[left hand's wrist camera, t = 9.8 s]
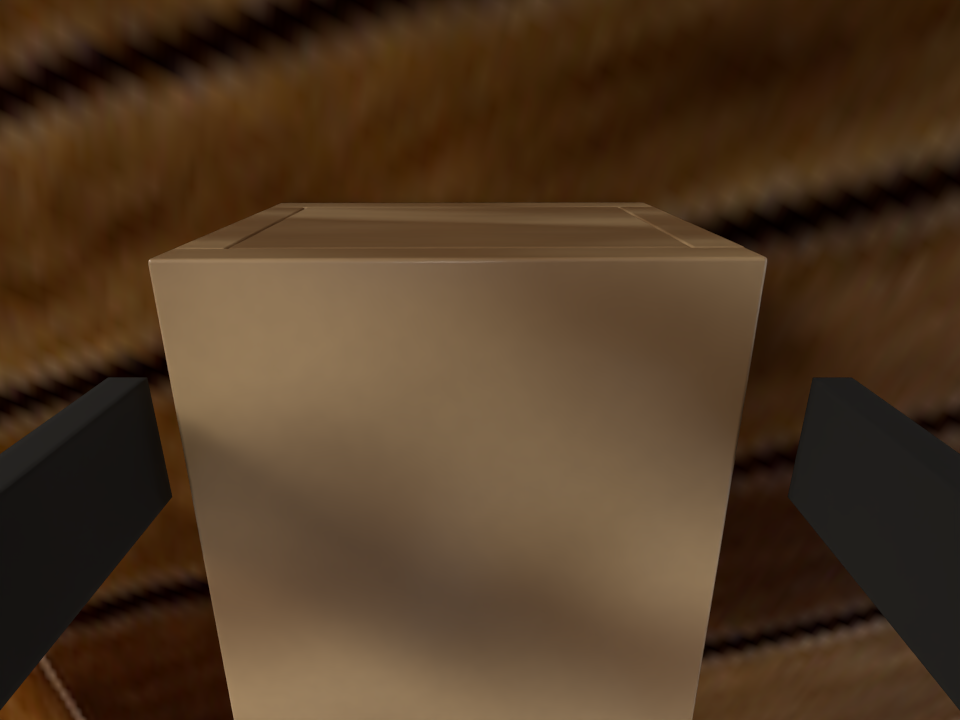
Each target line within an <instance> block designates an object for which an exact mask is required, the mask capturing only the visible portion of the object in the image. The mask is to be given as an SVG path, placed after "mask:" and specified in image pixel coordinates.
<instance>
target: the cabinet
mask: <svg viewBox="0 0 960 720" xmlns="http://www.w3.org/2000/svg"><path fill="white" fill-rule="evenodd" d="M148 265H149V270H150V275H151V281H152V286H153V291H154V296H155V302H156V307H157V312H158V318H159V323H160V328H161V334H162V339H163V344H164V350H165V355H166V360H167V366H168V371H169V376H170V382H171V387H172V392H173V398H174V403H175V408H176V414H177V419H178V424H179V429H180V435H181V440H182V445H183V451H184V456H185V461H186V467H187V472H188V477H189V483H190V488H191V493H192V499H193V504H194V509H195V515H196V520H197V525H198V531H199V536H200V541H201V546H202V552H203V557H204V562H205V568H206V573H207V578H208V584H209V589H210V594H211V600H212V605H213V610H214V616H215V621H216V626H217V632H218V637H219V642H220V648H221V653H222V658H223V663H224V669H225V674H226V679H227V685H228V690H229V695H230V701H231V706H232V711H233V717H234V720H692V718H693V712H694V706H695V700H696V694H697V688H698V681H699V675H700V669H701V663H702V657H703V651H704V645H705V639H706V632H707V626H708V620H709V614H710V608H711V602H712V596H713V590H714V584H715V577H716V571H717V565H718V559H719V553H720V547H721V541H722V535H723V529H724V522H725V516H726V510H727V504H728V498H729V492H730V486H731V480H732V473H733V467H734V461H735V455H736V449H737V443H738V437H739V431H740V425H741V418H742V412H743V406H744V400H745V394H746V388H747V382H748V376H749V370H750V363H751V357H752V351H753V345H754V339H755V333H756V327H757V321H758V315H759V308H760V302H761V296H762V290H763V284H764V278H765V272H766V266H767V258H766V257H764V256H762V255H759V254H757V253H755V252H753V251H751V250H748V249H746V248H744V247H743V246H741V245H739V244H736V243H734V242H732V241H730V240H727V239H725V238H723V237H721V236H718V235H716V234H714V233H712V232H709V231H707V230H705V229H702V228H700V227H698V226H696V225H693V224H691V223H689V222H687V221H684V220H682V219H680V218H678V217H675V216H673V215H671V214H669V213H666V212H664V211H662V210H660V209H657V208H655V207H652V206H650V205H648V204H645V203H281V204H278V205H276V206H274V207H271V208H269V209H267V210H264V211H262V212H260V213H257V214H255V215H253V216H250V217H248V218H246V219H243V220H241V221H239V222H236V223H234V224H231V225H229V226H227V227H224V228H222V229H220V230H217V231H215V232H213V233H210V234H208V235H206V236H203V237H201V238H199V239H196V240H194V241H191V242H189V243H187V244H184V245H182V246H180V247H177V248H175V249H173V250H170V251H168V252H166V253H163V254H161V255H159V256H156V257H154V258H152V259H149V262H148Z"/></svg>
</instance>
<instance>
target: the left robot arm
mask: <svg viewBox="0 0 960 720" xmlns="http://www.w3.org/2000/svg"><path fill="white" fill-rule="evenodd" d="M171 498H172V493H171V489H170V484H169V479H168V474H167V470H166V465H165V460H164V456H163V451H162V446H161V441H160V437H159V432H158V427H157V422H156V418H155V413H154V408H153V403H152V399H151V394H150V389H149V384H148V380H147V378H107V379H106V380H104V381H103V382H101V383H100V384H99V385H97V386H96V387H94V388H93V389H91V390H90V391H89V392H87V393H86V394H84V395H83V396H82V397H80V398H79V399H77V400H76V401H74V402H73V403H72V404H70V405H69V406H67V407H66V408H65V409H63V410H62V411H60V412H59V413H58V414H56V415H55V416H53V417H52V418H50V419H49V420H48V421H46V422H45V423H43V424H42V425H41V426H39V427H38V428H36V429H35V430H34V431H32V432H31V433H29V434H28V435H26V436H25V437H24V438H22V439H21V440H19V441H18V442H17V443H15V444H14V445H12V446H11V447H10V448H8V449H7V450H5V451H4V452H2V453H1V454H0V710H1V709H2V707H3V706H4V705H5V704H6V702H7V701H8V700H9V699H10V697H11V696H12V695H13V694H14V693H15V691H16V690H17V689H18V688H19V686H20V685H21V684H22V683H23V681H24V680H25V679H26V678H27V676H28V675H29V674H30V673H31V671H32V670H33V669H34V668H35V666H36V665H37V664H38V663H39V661H40V660H41V659H42V658H43V657H44V655H45V654H46V653H47V652H48V650H49V649H50V648H51V647H52V645H53V644H54V643H55V642H56V640H57V639H58V638H59V637H60V635H61V634H62V633H63V632H64V630H65V629H66V628H67V627H68V625H69V624H70V623H71V622H72V620H73V619H74V618H75V617H76V616H77V614H78V613H79V612H80V611H81V609H82V608H83V607H84V606H85V604H86V603H87V602H88V601H89V599H90V598H91V597H92V596H93V594H94V593H95V592H96V591H97V589H98V588H99V587H100V586H101V584H102V583H103V582H104V581H105V580H106V578H107V577H108V576H109V575H110V573H111V572H112V571H113V570H114V568H115V567H116V566H117V565H118V563H119V562H120V561H121V560H122V558H123V557H124V556H125V555H126V553H127V552H128V551H129V550H130V548H131V547H132V546H133V545H134V543H135V542H136V541H137V540H138V539H139V537H140V536H141V535H142V534H143V532H144V531H145V530H146V529H147V527H148V526H149V525H150V524H151V522H152V521H153V520H154V519H155V517H156V516H157V515H158V514H159V512H160V511H161V510H162V509H163V507H164V506H165V505H166V504H167V503H168V501H169V500H170V499H171ZM788 498H789V499H790V500H791V501H792V503H793V504H794V505H795V506H796V507H797V509H798V510H799V511H800V512H801V514H802V515H803V516H804V517H805V519H806V520H807V521H808V522H809V524H810V525H811V526H812V527H813V529H814V530H815V531H816V532H817V534H818V535H819V536H820V537H821V539H822V540H823V541H824V542H825V543H826V545H827V546H828V547H829V548H830V550H831V551H832V552H833V553H834V555H835V556H836V557H837V558H838V560H839V561H840V562H841V563H842V565H843V566H844V567H845V568H846V570H847V571H848V572H849V573H850V575H851V576H852V577H853V578H854V580H855V581H856V582H857V583H858V584H859V586H860V587H861V588H862V589H863V591H864V592H865V593H866V594H867V596H868V597H869V598H870V599H871V601H872V602H873V603H874V604H875V606H876V607H877V608H878V609H879V611H880V612H881V613H882V614H883V616H884V617H885V618H886V619H887V620H888V622H889V623H890V624H891V625H892V627H893V628H894V629H895V630H896V632H897V633H898V634H899V635H900V637H901V638H902V639H903V640H904V642H905V643H906V644H907V645H908V647H909V648H910V649H911V650H912V652H913V653H914V654H915V655H916V657H917V658H918V659H919V660H920V661H921V663H922V664H923V665H924V666H925V668H926V669H927V670H928V671H929V673H930V674H931V675H932V676H933V678H934V679H935V680H936V681H937V683H938V684H939V685H940V686H941V688H942V689H943V690H944V691H945V693H946V694H947V695H948V696H949V697H950V699H951V700H952V701H953V702H954V704H955V705H956V706H957V707H958V709H959V710H960V454H959V453H958V452H956V451H955V450H953V449H952V448H950V447H949V446H948V445H946V444H945V443H943V442H942V441H941V440H939V439H938V438H936V437H935V436H934V435H932V434H931V433H929V432H928V431H926V430H925V429H924V428H922V427H921V426H919V425H918V424H917V423H915V422H914V421H912V420H911V419H910V418H908V417H907V416H905V415H904V414H902V413H901V412H900V411H898V410H897V409H895V408H894V407H893V406H891V405H890V404H888V403H887V402H886V401H884V400H883V399H881V398H880V397H878V396H877V395H876V394H874V393H873V392H871V391H870V390H869V389H867V388H866V387H864V386H863V385H861V384H860V383H859V382H857V381H856V380H854V379H853V378H813V380H812V384H811V389H810V394H809V399H808V403H807V408H806V413H805V418H804V422H803V427H802V432H801V437H800V441H799V446H798V451H797V456H796V460H795V465H794V470H793V474H792V479H791V484H790V489H789V493H788Z"/></svg>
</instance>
